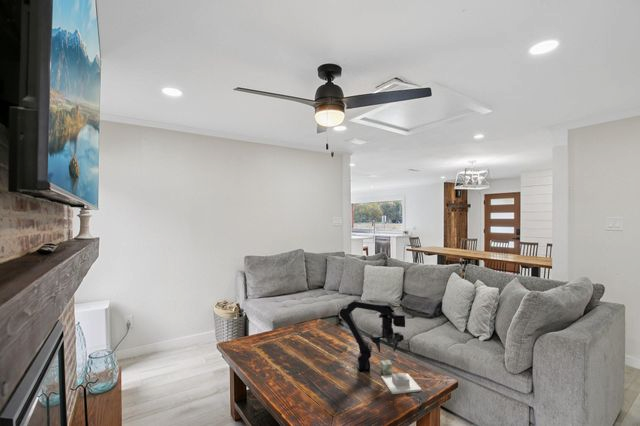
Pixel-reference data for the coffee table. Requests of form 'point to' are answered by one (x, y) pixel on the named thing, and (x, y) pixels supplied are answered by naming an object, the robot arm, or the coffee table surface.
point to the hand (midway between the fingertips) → (386, 351)
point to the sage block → (386, 367)
